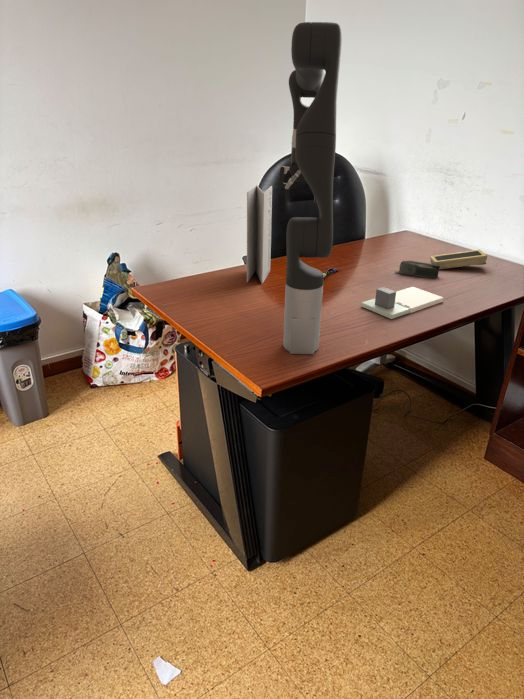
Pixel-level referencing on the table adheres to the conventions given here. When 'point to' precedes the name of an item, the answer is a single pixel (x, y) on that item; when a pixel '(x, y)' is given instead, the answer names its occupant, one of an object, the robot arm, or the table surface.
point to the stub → (385, 304)
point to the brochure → (259, 232)
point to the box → (459, 259)
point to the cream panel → (416, 299)
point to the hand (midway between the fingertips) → (301, 201)
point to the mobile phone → (419, 269)
